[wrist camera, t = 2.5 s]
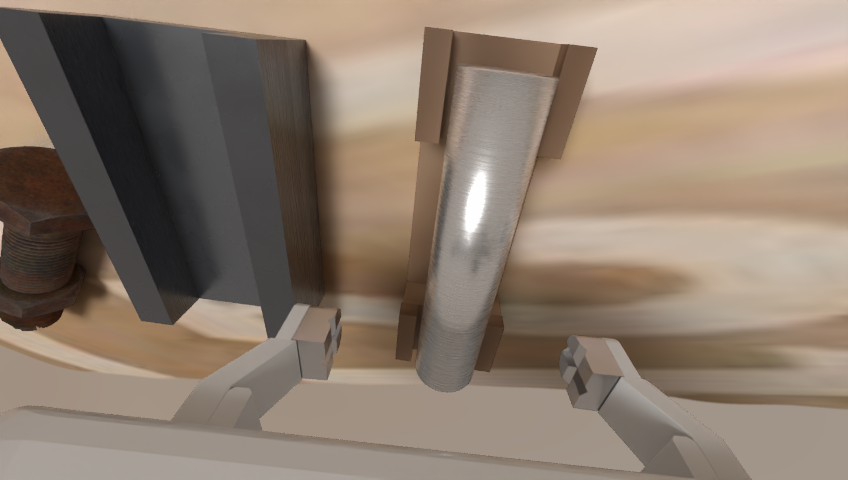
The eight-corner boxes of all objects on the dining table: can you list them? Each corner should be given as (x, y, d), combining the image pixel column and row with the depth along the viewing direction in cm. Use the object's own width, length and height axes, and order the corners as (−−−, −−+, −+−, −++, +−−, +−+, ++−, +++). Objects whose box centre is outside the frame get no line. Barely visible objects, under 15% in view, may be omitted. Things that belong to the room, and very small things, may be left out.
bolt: (71, 277, 28) (102, 149, 21) (97, 325, 27) (138, 209, 20) (-46, 300, 23) (-57, 141, 16) (-18, 360, 22) (-17, 221, 15)
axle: (456, 62, 13) (457, 68, 10) (545, 72, 13) (573, 82, 10) (418, 339, 21) (412, 387, 18) (471, 346, 21) (474, 396, 18)
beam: (564, 46, 15) (597, 48, 11) (484, 325, 24) (489, 371, 21) (431, 30, 15) (424, 26, 11) (403, 314, 24) (395, 359, 21)
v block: (305, 40, 15) (255, 39, 12) (324, 294, 24) (299, 342, 20) (99, 14, 16) (-17, 5, 12) (191, 276, 24) (141, 320, 20)
